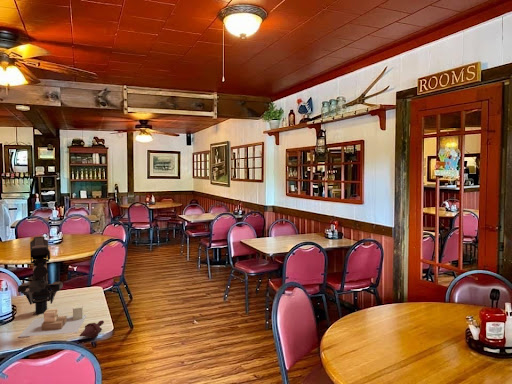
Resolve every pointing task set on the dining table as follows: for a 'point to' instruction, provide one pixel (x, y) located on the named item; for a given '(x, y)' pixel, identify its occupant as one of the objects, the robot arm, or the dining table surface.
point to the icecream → (92, 329)
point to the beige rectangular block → (77, 312)
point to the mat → (36, 330)
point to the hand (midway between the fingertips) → (41, 303)
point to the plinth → (55, 324)
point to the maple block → (50, 315)
